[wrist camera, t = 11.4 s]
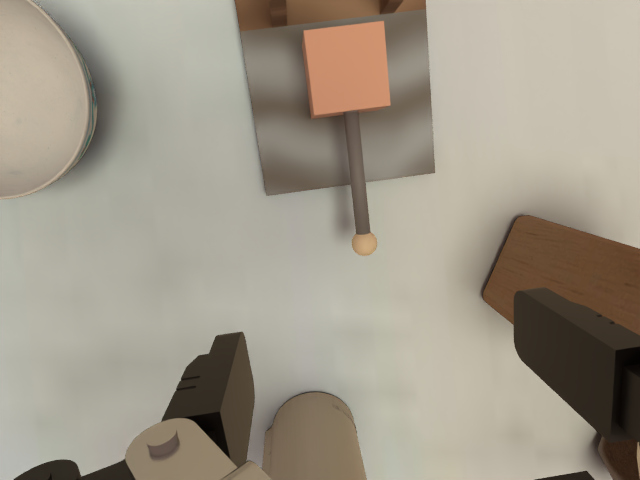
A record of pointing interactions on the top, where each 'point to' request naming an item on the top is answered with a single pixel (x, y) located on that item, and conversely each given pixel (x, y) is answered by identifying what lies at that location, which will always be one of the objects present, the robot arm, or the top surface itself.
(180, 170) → the top surface
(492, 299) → the block
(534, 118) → the top surface
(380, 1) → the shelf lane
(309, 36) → the cord block
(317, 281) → the top surface
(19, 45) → the chinaware
